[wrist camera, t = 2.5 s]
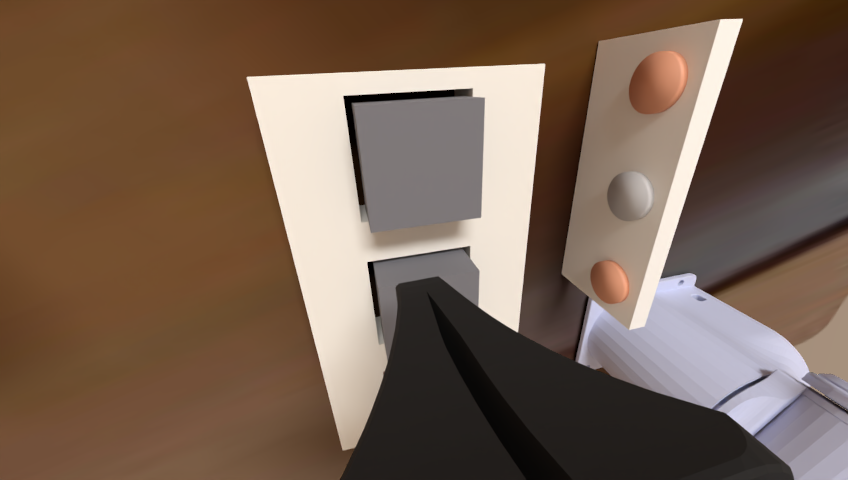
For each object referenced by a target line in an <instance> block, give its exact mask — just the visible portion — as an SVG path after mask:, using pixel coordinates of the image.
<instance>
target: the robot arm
mask: <svg viewBox="0 0 848 480" xmlns="http://www.w3.org/2000/svg"><path fill="white" fill-rule="evenodd" d="M695 282H696V276H695V275H694V274H692V273H687V274H683V275H678V276H673V277H668V278H663V279H660V280H659V283H658V286H657V289H656V293H655V296H654V299H653V302H652V305H651V308H650V311H649V314H648V318H647V321H646V324H645V327H640V328H636V329H632V330H628V329H627V328H626V327H625V326H623V325H622V324H621V323H620V322H619V321H617V320H616V319H615V318H614V317H613V316H611V315H610V314H609V313H608V312H607V311H605V310H604V309H603V308H602V307H601V306H599V305H598V304H597V303H596V302H595V301H593V300H592V299H591V298H590V297H589V299H588V304H587V309H586V313H585V318H584V323H583V328H582V332H581V337H580V342H579V346H578V351H577V356H576V360H575V361H573V360H571V359H569V358H567V357H564V356H562V355H560V354H558V353H556V352H554V351H552V350H549V349H547V348H546V347H544V346H542V345H540V344H538V343H536V342H534V341H532V340H530V339H528V338H527V337H525V336H523V335H521V334H519V333H518V332H516V331H514V330H512V329H511V328H509V327H508V326H506V325H504V324H503V323H501V322H500V321H498V320H497V319H495V318H493V317H492V316H490V315H489V314H487V313H486V312H485V311H483V310H482V309H481V308H479V307H478V306H476V305H475V304H474V303H472V302H471V301H470V300H468V299H467V298H466V297H464V296H463V295H462V294H460V293H459V292H458V291H457V290H455V289H454V288H453V287H452V286H450V285H449V284H448V283H447V282H445V281H444V280H443V279H441V278H440V277H439V276H436V277H431V278H425V279H420V280H415V281H409V282H404V283H399V284H398V285H397V286H396V287H395V289H396V297H397V317H396V325H395V332H394V337H393V341H392V346H391V350H390V355H389V359H388V362H387V366H386V369H385V373H384V376H383V379H382V382H381V385H380V388H379V391H378V394H377V397H376V399H375V402H374V405H373V407H372V410H371V413H370V415H369V418H368V420H367V423H366V425H365V427H364V430H363V432H362V434H361V436H360V438H359V441H358V443H357V445H356V447H355V449H354V451H353V454H352V456H351V458H350V460H349V462H348V464H347V467H346V469H345V471H344V473H343V475H342V477H341V479H340V480H848V382H846V381H844V380H843V379H841V378H839V377H837V376H835V375H833V374H818V375H817V374H815V373H813V372H809V370H808V367H807V365H806V363H805V361H804V360H803V358H802V356H801V355H800V354H799V352H798V351H797V350H796V349H795V348H794V347H793V346H792V345H791V344H790V343H789V342H788V341H787V340H786V339H785V338H784V337H782V336H781V335H780V334H778V333H777V332H775V331H774V330H772V329H770V328H768V327H767V326H765V325H763V324H761V323H759V322H758V321H756V320H754V319H752V318H750V317H749V316H747V315H745V314H743V313H741V312H740V311H738V310H736V309H734V308H732V307H731V306H729V305H727V304H725V303H723V302H722V301H720V300H718V299H716V298H714V297H713V296H711V295H709V294H707V293H706V292H704V291H702V290H700V289H698V288H697V287H695V286H694V284H695ZM602 367H603V368H604V369H605V370H606V371H607V372H608V373H609V374H610V375H611V376H610V375H607V374H604V373H602V372H599V371H597V370H594V369H598V368H602ZM810 385H811V386H813V387H814V388H815V389H817V390H818V391H820V392H822V393H823V394H825V396H826V397H828V398H829V399H831V400H832V401H834V402H835V403H834V402H832V401H831V400H829V399H828V398H826V397H825V396H823V395H821V394H819V393H818V392H816V391H815V390H814V389H812V388H810ZM836 403H837V404H838V405H837V404H836ZM839 405H840V406H841V407H840V406H839ZM842 407H843V408H842ZM845 409H846V410H845Z"/></svg>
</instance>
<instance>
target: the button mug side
mask: <svg viewBox="0 0 848 480" xmlns="http://www.w3.org/2000/svg"><path fill="white" fill-rule="evenodd" d="M351 104H352V112H353V119H354V127H355V134H356V141H357V149H358V156H359V164H360V171H361V179H362V186H363V193H364V201H365V208H366V213H367V218H368V222H369V226H370V231H371V233H375V232H382V231H389V230H396V229H403V228H411V227H418V226H425V225H432V224H439V223H446V222H454V221H461V220H468V219H475V218H481V209H482V177H483V146H484V114H485V98H483V97H467V96H451V97H435V98H419V99H403V100H387V101H371V102H355V103H351Z"/></svg>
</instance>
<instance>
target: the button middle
mask: <svg viewBox="0 0 848 480" xmlns="http://www.w3.org/2000/svg"><path fill="white" fill-rule="evenodd" d="M373 268H374V275H375V282H376V290H377V297H378V305H379V312H380V319H381V327H382V333H383V339H384V344H385V350H386V355H387V361H388V359H389V355H390V350H391V346H392V341H393V337H394V332H395V325H396V317H397V297H396V289H395V287H396V286H397V285H398V284H399V283H404V282H409V281H415V280H420V279H425V278H431V277H436V276H439V277H440V278H441V279H443V280H444V281H445V282H447V283H448V284H449V285H450V286H452V287H453V288H454V289H455V290H457V291H458V292H459V293H460V294H462V295H463V296H464V297H466V298H467V299H468V300H470V301H471V302H472V303H474V304H475V305H476V306H478V304H479V272H480V271H479V269H478V268H477V267H476V265H475V264H474V263H473V262H472V260H471V259H470V258H469V256H468V255H467V254H466V253H465V251H464V250H463V249H462V247H460V248H454V249H447V250H441V251H435V252H428V253H422V254H415V255H409V256H403V257H396V258H390V259H383V260H377V261H373Z"/></svg>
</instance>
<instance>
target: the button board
mask: <svg viewBox="0 0 848 480" xmlns="http://www.w3.org/2000/svg"><path fill="white" fill-rule="evenodd" d="M544 71H545V64H527V65H505V66H482V67H460V68H437V69H415V70H393V71H370V72H348V73H325V74H303V75H280V76H258V77H247V80H248V84H249V88H250V91H251V95H252V99H253V103H254V107H255V111H256V115H257V119H258V123H259V126H260V130H261V134H262V138H263V142H264V146H265V150H266V154H267V158H268V162H269V165H270V169H271V173H272V177H273V181H274V185H275V189H276V193H277V197H278V200H279V204H280V208H281V212H282V216H283V220H284V224H285V228H286V232H287V236H288V239H289V243H290V247H291V251H292V255H293V259H294V263H295V267H296V271H297V274H298V278H299V282H300V286H301V290H302V294H303V298H304V302H305V306H306V310H307V313H308V317H309V321H310V325H311V329H312V333H313V337H314V341H315V345H316V348H317V352H318V356H319V360H320V364H321V368H322V372H323V376H324V380H325V383H326V387H327V391H328V395H329V399H330V403H331V407H332V411H333V415H334V419H335V422H336V426H337V430H338V434H339V438H340V442H341V446H342V450H347V449H351V448H355V447H356V445H357V443H358V441H359V438H360V436H361V434H362V432H363V430H364V427H365V425H366V423H367V420H368V418H369V415H370V413H371V410H372V407H373V405H374V402H375V399H376V397H377V394H378V391H379V388H380V385H381V382H382V379H383V372H384V371H385V369H386V366H387V362H388V361H387V355H386V350H385V344H384V339H383V333H382V327H381V319H380V316H379V317H375V314H374V307H373V300H372V293H371V286H370V279H369V272H368V265H367V262H371V261H377V260H383V259H390V258H396V257H403V256H409V255H415V254H422V253H428V252H435V251H441V250H447V249H454V248H460V247H462V249H463V250H464V251H465V253H466V254H467V255H468V256H469V258H470V259H471V260H472V262H473V263H474V264H475V265H476V267H477V268H478V269H479V271H480V272H479V304H478V307H479V308H481V309H482V310H483V311H485V312H486V313H487V314H489V315H490V316H492V317H493V318H495V319H497V320H498V321H500V322H501V323H503V324H504V325H506V326H508V327H509V328H511V329H512V330H514V331H516V332H518V326H519V316H520V307H521V297H522V287H523V277H524V267H525V257H526V248H527V238H528V228H529V218H530V208H531V198H532V189H533V179H534V169H535V159H536V149H537V140H538V130H539V120H540V110H541V100H542V90H543V81H544ZM452 89H454V96H467V97H483V98H485V114H484V146H483V177H482V209H481V218H475V219H468V220H461V221H454V222H446V223H439V224H432V225H425V226H418V227H411V228H403V229H396V230H389V231H382V232H375V233H371V231H370V226H369V222H368V218H367V213H366V208H365V205H359V202H358V195H357V188H356V181H355V174H354V167H353V161H352V154H351V147H350V140H349V133H348V126H347V119H346V112H345V105H344V98H343V96H348V95H366V94H383V93H400V92H417V91H435V90H452Z"/></svg>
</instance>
